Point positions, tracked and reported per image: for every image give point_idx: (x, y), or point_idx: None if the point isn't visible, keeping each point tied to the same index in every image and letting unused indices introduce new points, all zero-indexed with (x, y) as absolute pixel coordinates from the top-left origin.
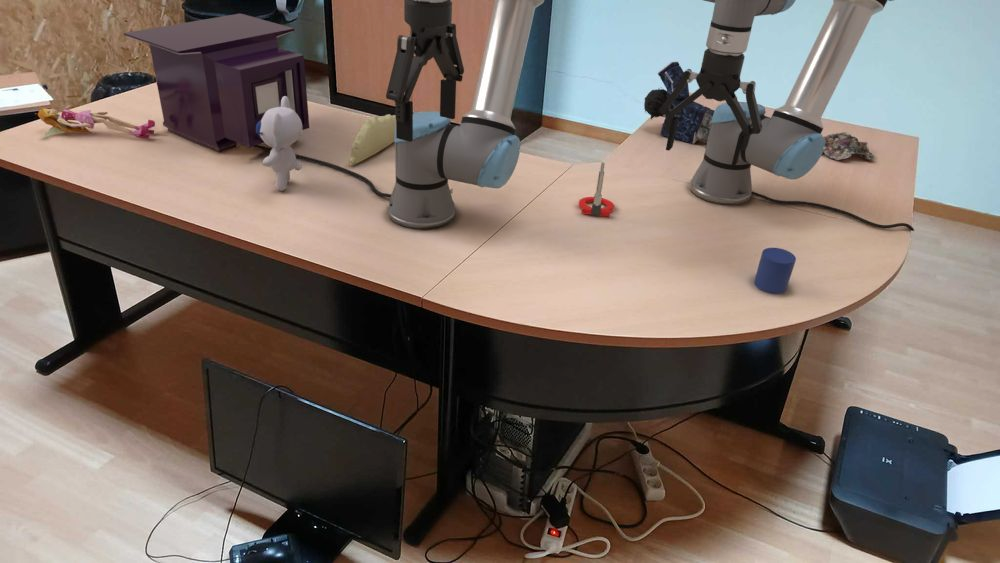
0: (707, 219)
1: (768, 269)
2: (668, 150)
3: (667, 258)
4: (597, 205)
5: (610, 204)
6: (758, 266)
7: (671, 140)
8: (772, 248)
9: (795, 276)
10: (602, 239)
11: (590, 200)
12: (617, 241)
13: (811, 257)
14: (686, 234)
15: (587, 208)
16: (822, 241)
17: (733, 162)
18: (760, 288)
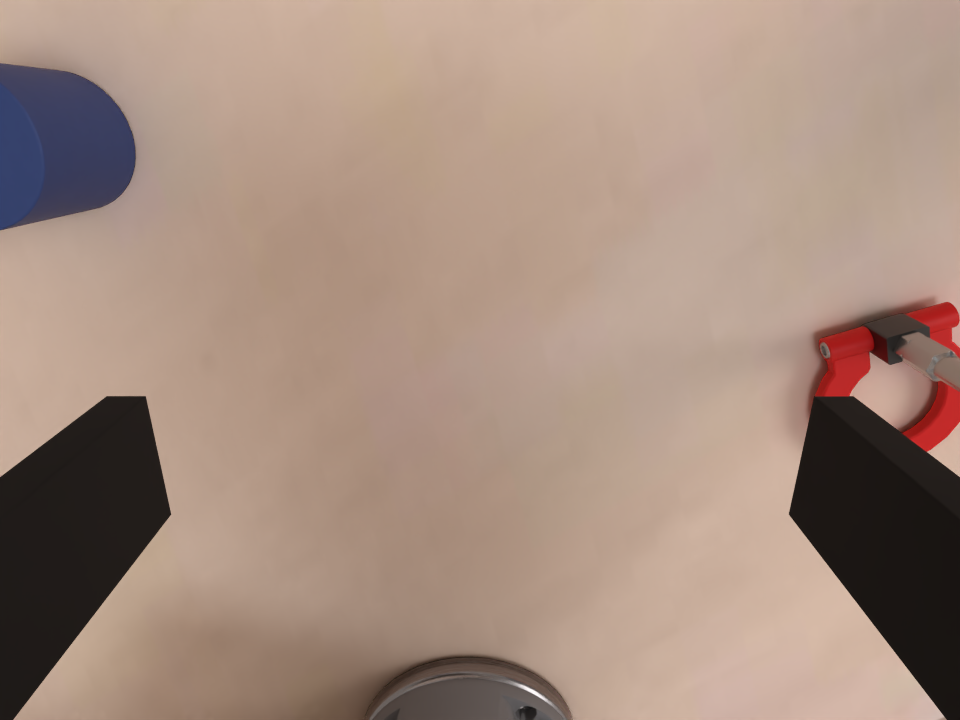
0: (451, 533)
1: (2, 66)
2: (822, 398)
3: (505, 124)
4: (906, 334)
5: None
6: (85, 129)
7: (877, 467)
8: (15, 205)
9: (21, 277)
10: (809, 130)
11: (921, 425)
12: (741, 151)
13: None
14: (490, 377)
15: (934, 322)
16: None
17: (112, 410)
18: (83, 78)
